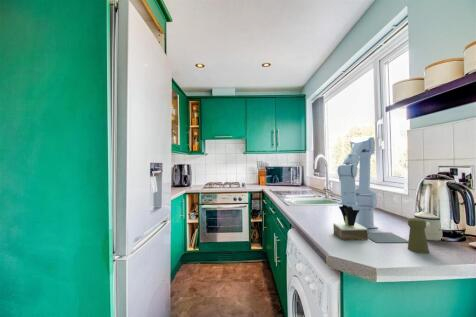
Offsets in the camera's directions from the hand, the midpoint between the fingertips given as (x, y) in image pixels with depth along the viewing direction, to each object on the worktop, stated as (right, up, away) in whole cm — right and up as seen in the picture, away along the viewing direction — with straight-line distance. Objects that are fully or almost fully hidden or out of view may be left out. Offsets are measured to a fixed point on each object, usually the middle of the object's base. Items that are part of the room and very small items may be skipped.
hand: (349, 224), depth 100 cm
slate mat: (+13, -5, -3) cm, 14 cm away
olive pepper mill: (+16, -5, -17) cm, 24 cm away
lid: (0, -2, 0) cm, 2 cm away
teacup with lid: (+30, -5, -5) cm, 31 cm away
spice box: (0, -5, 0) cm, 5 cm away
